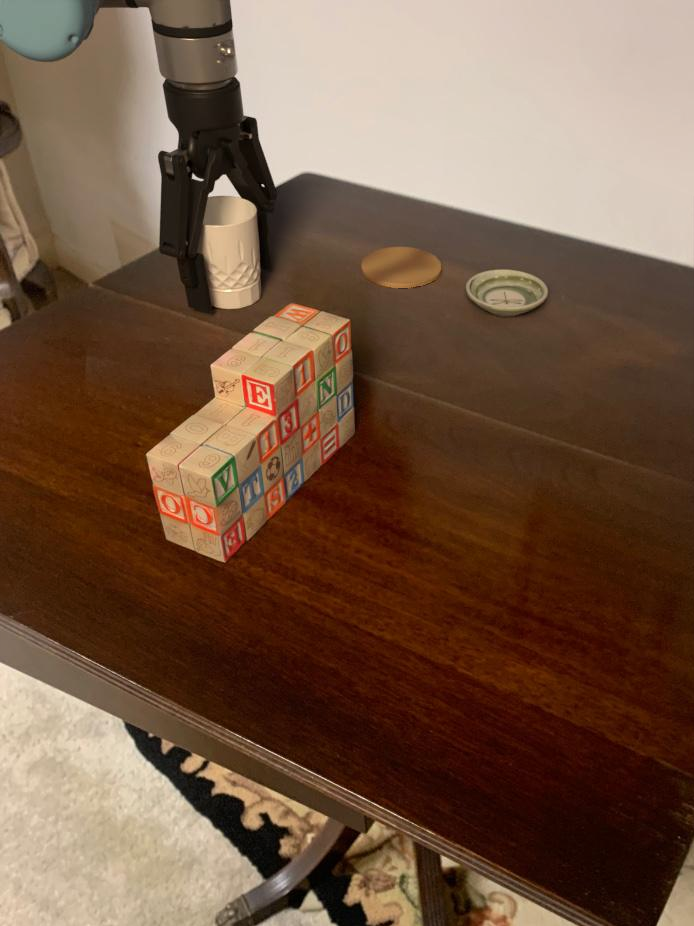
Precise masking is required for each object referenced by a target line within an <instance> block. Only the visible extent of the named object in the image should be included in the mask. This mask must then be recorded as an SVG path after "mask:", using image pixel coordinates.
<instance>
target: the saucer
mask: <svg viewBox="0 0 694 926" xmlns="http://www.w3.org/2000/svg"><path fill="white" fill-rule="evenodd" d="M465 292H466V295H467V297H468V298H469V299H470V300H471V301H472V302H473V303H475V305H476V306H478V307H479V308H480V309H482V310H483V311H486V312H489V313H490V314H491V315H494V316H497V317H498V316H499V317H505V316H506V317H508V318H509V317H516V315H517V316H520V315H522V314H526V313H528V312H530V311H532V310H534V309H536V308H537V307H539V306H540V305H542V304H543V303H544V302H545V301H546V300H547V298H548V295H549V289H548V286H547V285H546V283H545V282H544V280H542V279H540V278H539V277H537V276H535V275H533V274H531V273H529V272H525V271H520V270H516V269H505V268H504V269H501V268H500V269H490V270H485V271H482V272H479V273H476V274H475V275H473V276H472V277H470V278H469V279H468V281H467V282H466V284H465ZM521 313H522V314H521ZM519 314H520V315H519Z"/></svg>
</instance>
